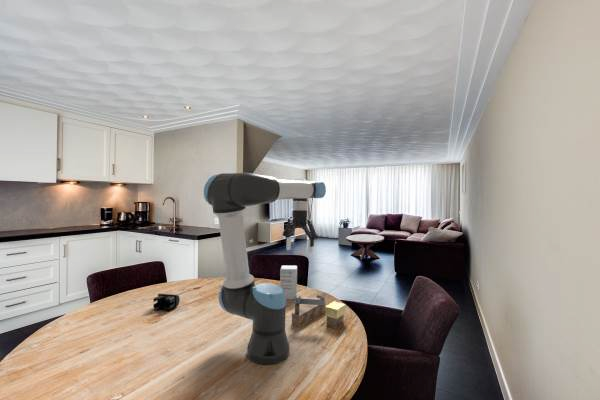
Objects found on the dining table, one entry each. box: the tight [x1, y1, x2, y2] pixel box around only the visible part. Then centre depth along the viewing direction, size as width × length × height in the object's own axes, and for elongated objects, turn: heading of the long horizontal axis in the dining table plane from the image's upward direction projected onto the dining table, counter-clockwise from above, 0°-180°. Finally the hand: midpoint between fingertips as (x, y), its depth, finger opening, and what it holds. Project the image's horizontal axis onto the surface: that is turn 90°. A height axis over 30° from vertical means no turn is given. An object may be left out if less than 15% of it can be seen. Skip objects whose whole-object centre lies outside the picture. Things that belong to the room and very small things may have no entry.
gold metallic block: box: [324, 301, 347, 319], centre depth 125 cm, size 8×6×4 cm
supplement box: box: [279, 264, 298, 300], centre depth 158 cm, size 10×9×17 cm
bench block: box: [326, 314, 345, 328], centre depth 125 cm, size 8×4×4 cm, turn 144°
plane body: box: [291, 293, 327, 328], centre depth 130 cm, size 22×4×9 cm, turn 144°
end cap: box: [152, 293, 181, 313], centre depth 138 cm, size 10×7×7 cm
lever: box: [293, 295, 326, 306], centre depth 122 cm, size 14×3×4 cm, turn 83°
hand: (299, 251), depth 142 cm, fingers open, 13 cm apart
